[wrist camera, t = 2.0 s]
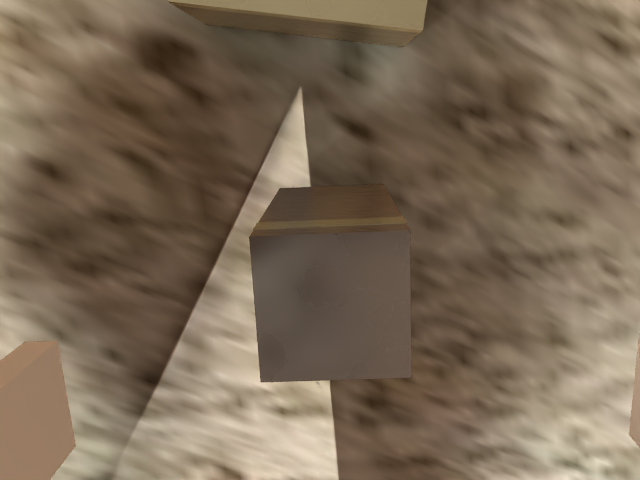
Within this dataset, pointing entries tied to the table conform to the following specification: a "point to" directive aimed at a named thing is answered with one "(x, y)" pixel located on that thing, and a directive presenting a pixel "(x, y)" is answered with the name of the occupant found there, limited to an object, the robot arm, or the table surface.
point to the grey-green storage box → (317, 17)
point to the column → (332, 285)
